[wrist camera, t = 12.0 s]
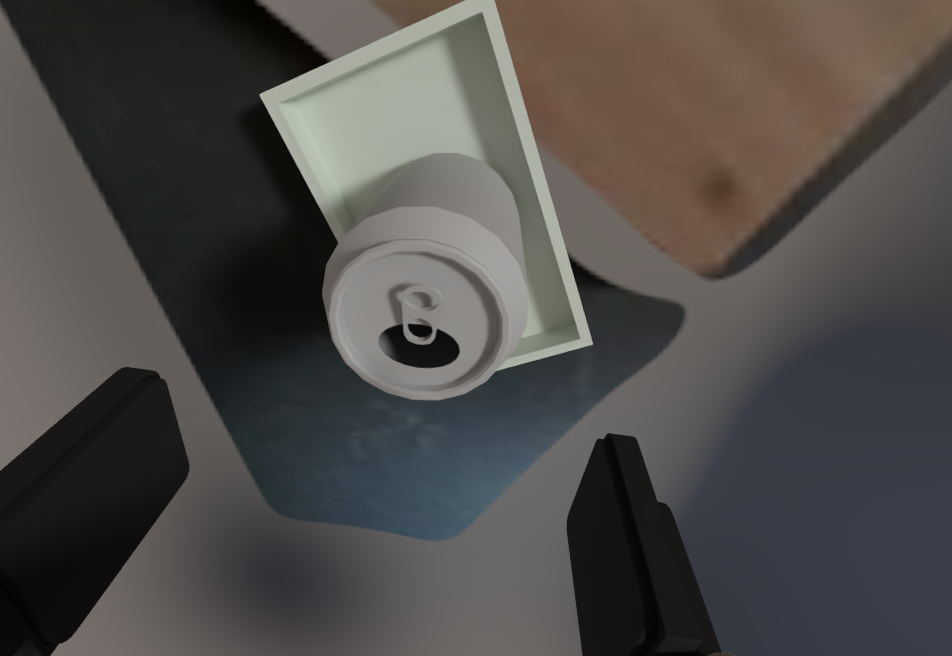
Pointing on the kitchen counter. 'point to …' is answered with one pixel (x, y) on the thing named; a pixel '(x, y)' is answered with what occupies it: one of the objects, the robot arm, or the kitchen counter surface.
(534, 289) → the tray
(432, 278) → the can
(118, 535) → the robot arm
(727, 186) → the kitchen counter surface
